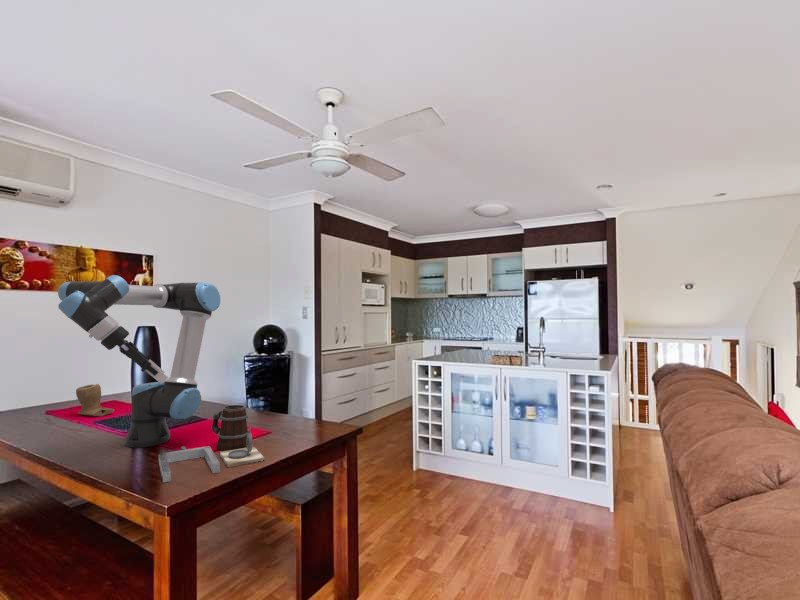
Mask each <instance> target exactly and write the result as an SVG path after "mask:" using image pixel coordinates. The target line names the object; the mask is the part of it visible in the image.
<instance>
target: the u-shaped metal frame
mask: <svg viewBox="0 0 800 600" xmlns="http://www.w3.org/2000/svg"><path fill="white" fill-rule="evenodd" d="M200 457H201V458H204V459H205V461H206V464H207V465H208V467H209V469H210V470H211V473H212V474H218V473H221V472H220V471H221V462H220V461H219V459H218V458H217V456H216V454H215V453H214V451H213V450H212V448H211V446H210V445H208V446H202V447H194V448H193V447H192V448H188V449H187V447H186V446H180V449H179V450H174V451H168V452H162V453H158V465H159V470H160V476H161V479H162V483H163V484H164V483H170V482H171V481H172V480H171V479H172V478H171V477H172V475H171V473H172V471H171V467H170V464H171V463H175V462H182V461H188V460H194V459H199V458H200Z"/></svg>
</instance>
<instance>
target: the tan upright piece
mask: <svg viewBox="0 0 800 600" xmlns="http://www.w3.org/2000/svg"><path fill="white" fill-rule="evenodd" d="M75 395H76V398H77V400H78V402H79V404H80V406H81V409H80V410H79V411H78V412H77V414H78V415H83V416H93V417H104V416H107V415H109V414H112V413H113V412H115V409H114V408H109V407H102V406H101V399H102V398H101V397H102V388H101V385H100V384H99V383H96V384H94V383H93V384H86V385H82V386H79V387H77V388H76V390H75Z"/></svg>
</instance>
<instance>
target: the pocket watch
mask: <svg viewBox="0 0 800 600" xmlns="http://www.w3.org/2000/svg"><path fill="white" fill-rule="evenodd" d="M251 429H252V426H251V425H249V426H248V428H247V430H248V434H247V437H246V446H247V447H246V448H247V451H246V450H236V451H232V452H230V453H229V454H228V456H229V457H231V458H241V457H245V456H247V455H248V453H249V452H251V451H252V447H253V436H252V432H251Z"/></svg>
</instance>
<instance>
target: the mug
mask: <svg viewBox="0 0 800 600" xmlns="http://www.w3.org/2000/svg"><path fill="white" fill-rule="evenodd" d="M222 409H223V410H220V411H216V412H215V413H214V414H213V416H212V418H213V419H212V425H211V430H212V432H213V433H214V434H215V435H217V438H218V440H217V442H216V449H217V448H218V449H217V450H221V451H222V452H223V451H229V450H235V449H241V448H247V446H246V437H247V434H248V426H247V423H248V422H247V419H248V417H249V414H248V413H247V411H246V406H245V405H242V404H231V405H227V406H224V407H223V408H222ZM219 420H220V421H221V423H220V427H219Z"/></svg>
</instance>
